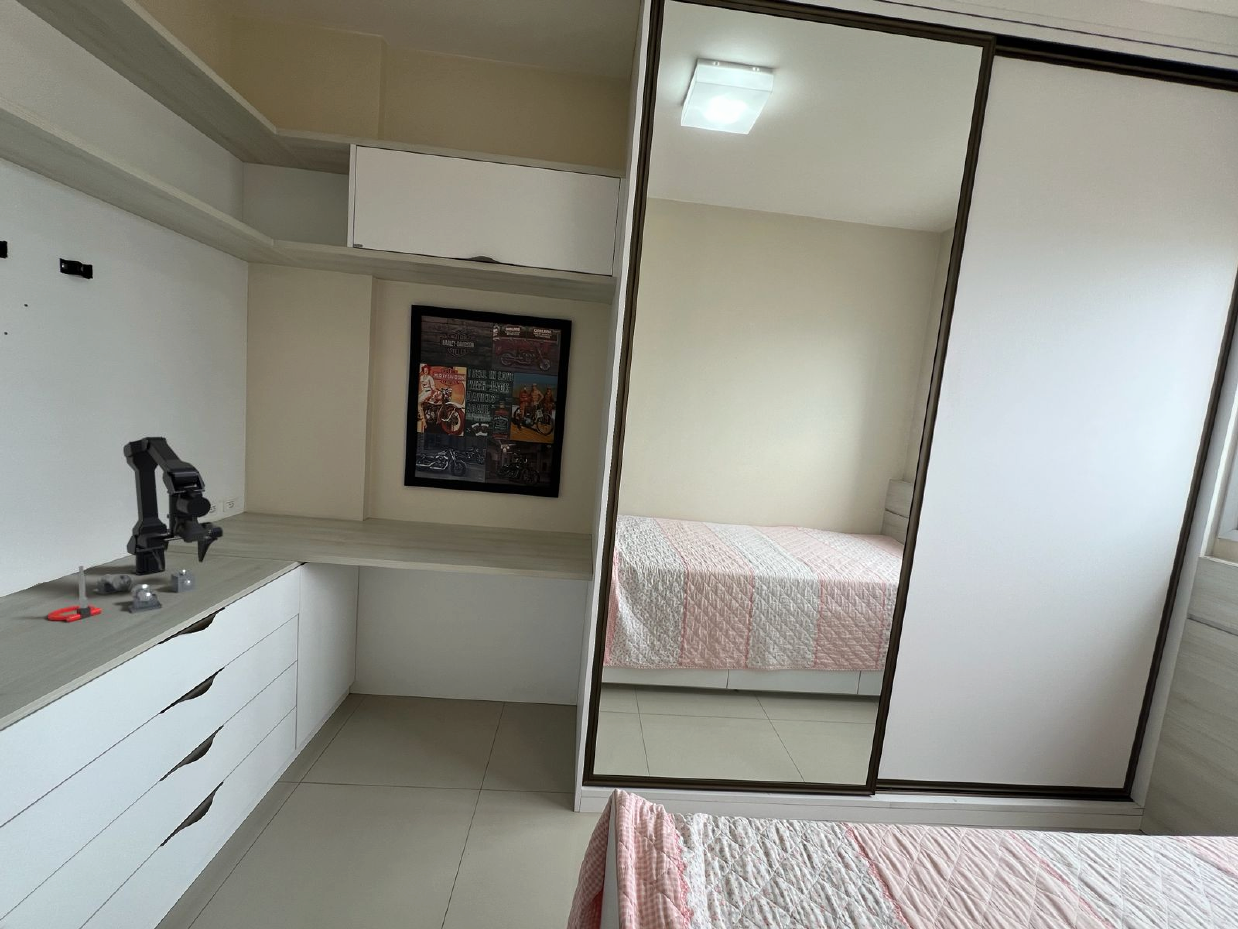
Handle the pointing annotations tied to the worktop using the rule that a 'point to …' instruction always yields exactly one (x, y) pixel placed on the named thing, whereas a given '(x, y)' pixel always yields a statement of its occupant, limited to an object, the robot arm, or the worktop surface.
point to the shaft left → (112, 584)
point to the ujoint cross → (182, 581)
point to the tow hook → (82, 609)
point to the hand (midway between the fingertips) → (182, 565)
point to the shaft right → (143, 599)
